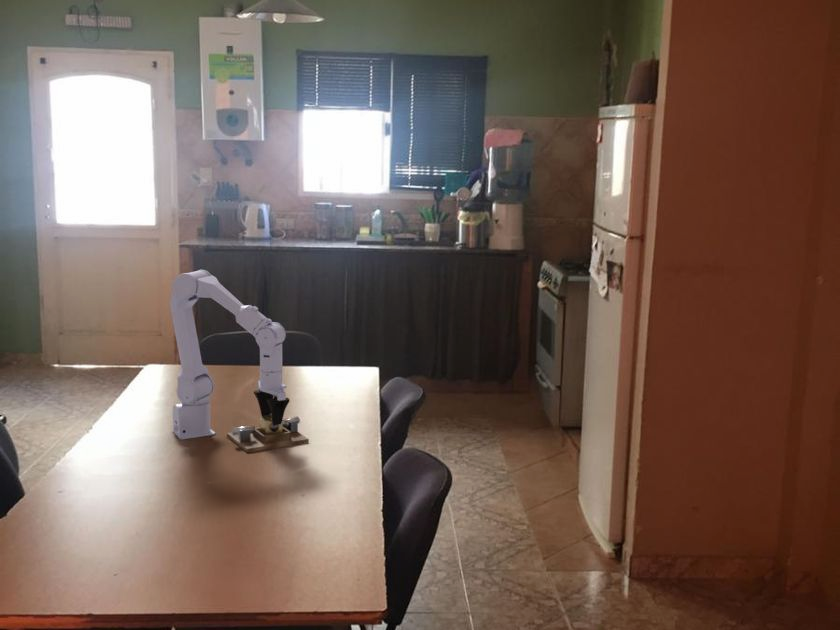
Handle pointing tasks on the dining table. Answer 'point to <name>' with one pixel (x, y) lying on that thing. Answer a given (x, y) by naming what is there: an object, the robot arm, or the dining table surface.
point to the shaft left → (244, 433)
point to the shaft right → (291, 424)
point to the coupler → (269, 426)
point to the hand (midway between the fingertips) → (271, 420)
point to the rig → (269, 440)
